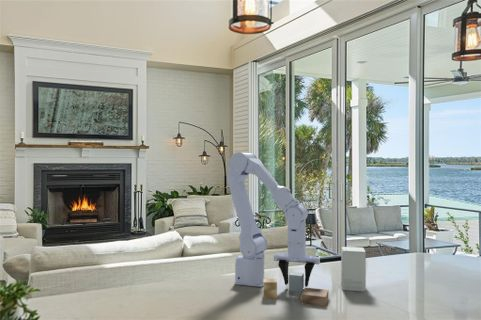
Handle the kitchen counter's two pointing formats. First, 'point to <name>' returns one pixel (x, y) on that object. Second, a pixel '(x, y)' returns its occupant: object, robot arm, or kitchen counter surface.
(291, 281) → the slate block
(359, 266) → the supplement box
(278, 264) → the robot arm
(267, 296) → the oak block
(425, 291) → the kitchen counter surface
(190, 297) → the kitchen counter surface
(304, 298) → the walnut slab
